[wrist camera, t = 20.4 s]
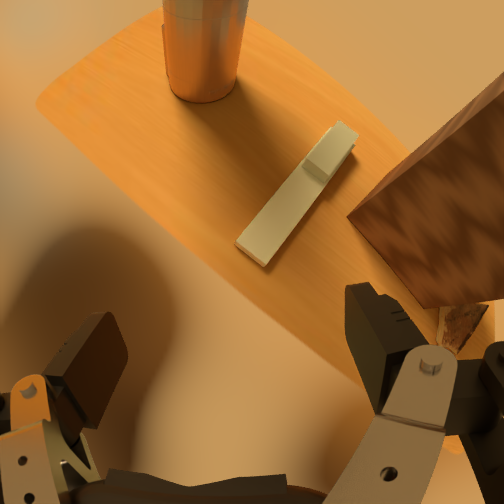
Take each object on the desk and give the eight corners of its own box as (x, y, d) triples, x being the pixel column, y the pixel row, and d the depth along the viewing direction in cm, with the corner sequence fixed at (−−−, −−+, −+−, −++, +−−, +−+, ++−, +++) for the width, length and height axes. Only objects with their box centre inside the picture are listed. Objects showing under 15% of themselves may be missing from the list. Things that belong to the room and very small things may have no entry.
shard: (482, 305, 38) (490, 304, 36) (477, 354, 36) (485, 354, 34) (437, 297, 37) (446, 296, 35) (431, 353, 35) (440, 353, 33)
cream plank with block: (234, 245, 34) (237, 235, 31) (325, 134, 39) (336, 118, 36) (262, 267, 34) (269, 261, 30) (349, 152, 39) (361, 137, 35)
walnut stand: (341, 216, 37) (556, 31, 6) (387, 168, 39) (550, 17, 8) (423, 314, 36) (657, 273, 5) (458, 258, 38) (644, 187, 7)
